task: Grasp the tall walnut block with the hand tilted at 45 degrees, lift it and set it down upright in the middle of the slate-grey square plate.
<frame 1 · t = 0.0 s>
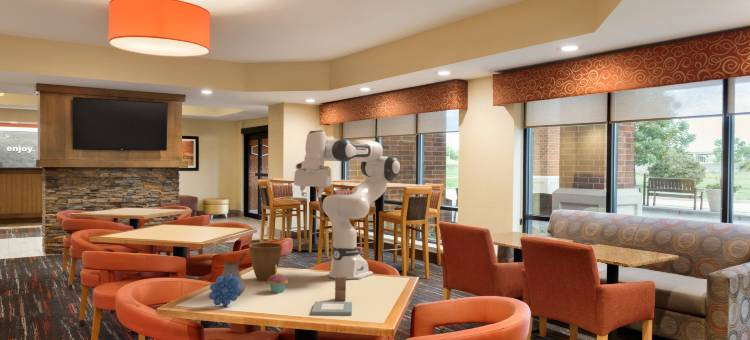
hand: (311, 196, 240), 39 cm above the table, tool pointing down, fingers open, 8 cm apart
walnut block: (340, 299, 213), on the table
coffee pot: (235, 292, 224), on the table
grapes: (225, 305, 202), on the table
plant pot: (265, 280, 249), on the table
plate: (332, 309, 198), on the table
cupcake: (277, 292, 226), on the table
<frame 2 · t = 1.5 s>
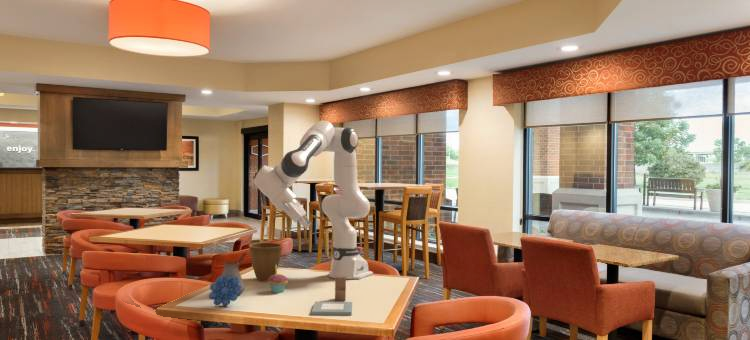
hand: (309, 226, 213), 29 cm above the table, tool tilted 45°, fingers open, 8 cm apart
nothing on the table moved.
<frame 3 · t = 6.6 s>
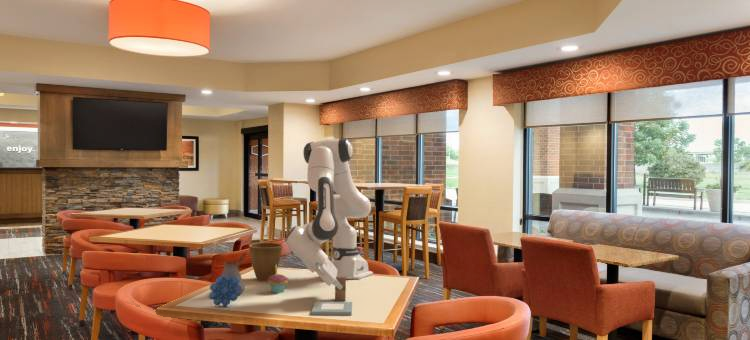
hand: (342, 286, 213), 5 cm above the table, tool tilted 45°, fingers closed on walnut block, 4 cm apart
walnut block: (340, 299, 213), on the table, touching gripper
everything else where it was.
when the fingers open (7 cm above the table, at t = 11.5 s): walnut block stays where it is, resting on plate.
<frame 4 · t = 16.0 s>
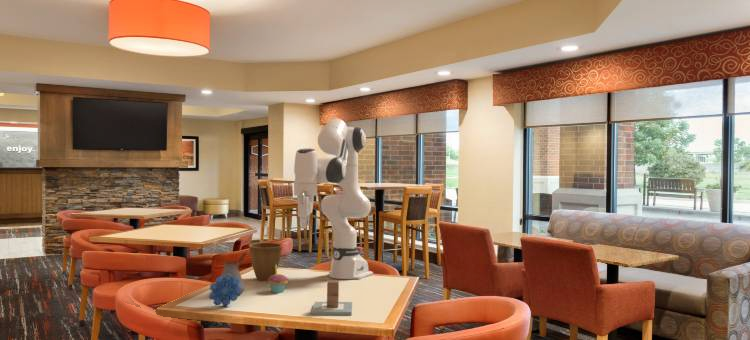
hand: (305, 227, 207), 29 cm above the table, tool pointing down, fingers open, 8 cm apart
walnut block: (332, 306, 198), point 1 cm above the table, touching plate
everything else where it was.
at the end: walnut block inside the target area on the plate (0.0 cm from its centre), point 1.2 cm above the plate's base; walnut block tilted 0°; the gripper is holding nothing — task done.
